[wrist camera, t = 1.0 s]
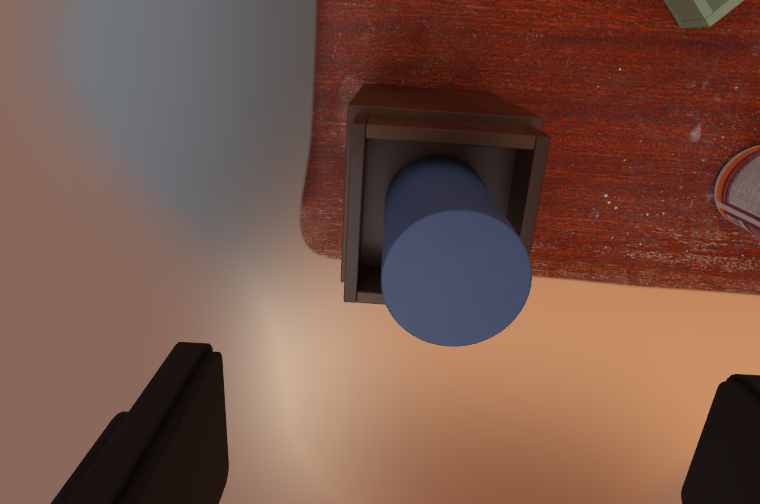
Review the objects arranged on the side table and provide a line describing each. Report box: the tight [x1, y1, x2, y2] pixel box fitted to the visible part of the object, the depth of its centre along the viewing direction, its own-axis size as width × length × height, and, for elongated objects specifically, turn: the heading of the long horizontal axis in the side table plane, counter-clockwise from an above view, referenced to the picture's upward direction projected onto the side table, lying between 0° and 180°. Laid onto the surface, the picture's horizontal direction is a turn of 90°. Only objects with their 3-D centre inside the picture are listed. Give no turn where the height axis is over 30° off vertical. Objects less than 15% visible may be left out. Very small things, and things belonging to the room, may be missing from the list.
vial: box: [381, 155, 532, 346], centre depth 22 cm, size 5×5×9 cm
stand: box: [341, 84, 551, 304], centre depth 31 cm, size 9×9×17 cm
